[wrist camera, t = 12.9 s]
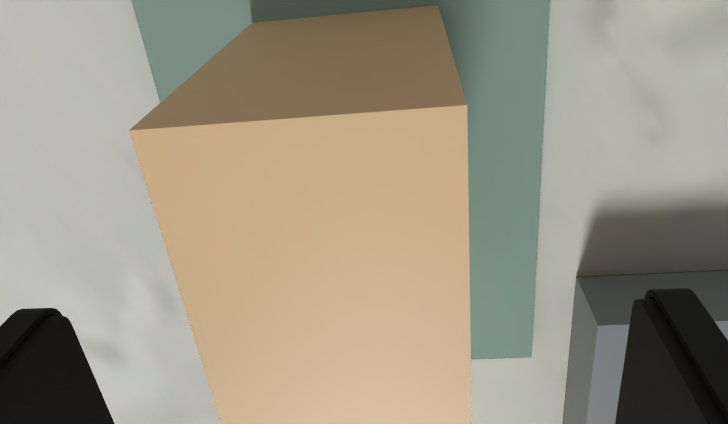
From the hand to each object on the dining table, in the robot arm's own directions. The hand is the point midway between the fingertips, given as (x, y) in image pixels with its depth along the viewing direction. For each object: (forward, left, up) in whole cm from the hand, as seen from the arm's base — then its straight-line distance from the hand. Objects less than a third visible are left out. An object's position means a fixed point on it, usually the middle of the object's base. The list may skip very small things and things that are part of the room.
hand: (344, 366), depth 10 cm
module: (0, 0, -9) cm, 9 cm away
